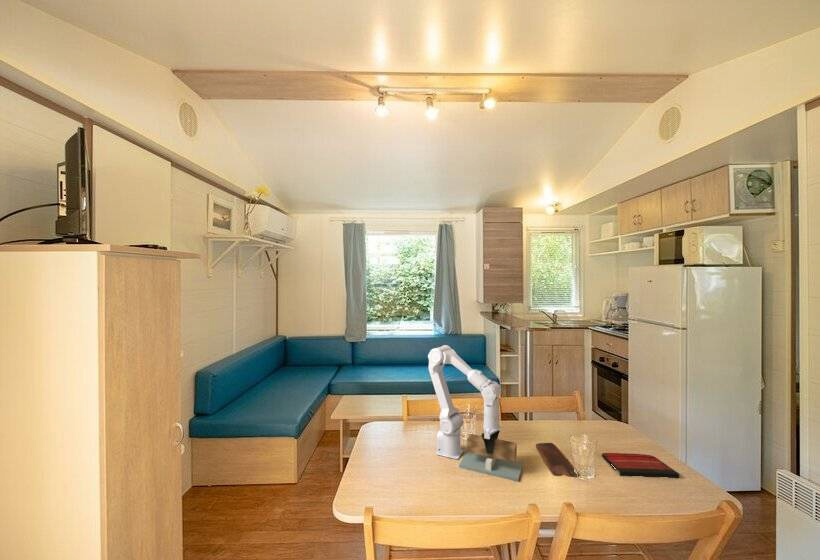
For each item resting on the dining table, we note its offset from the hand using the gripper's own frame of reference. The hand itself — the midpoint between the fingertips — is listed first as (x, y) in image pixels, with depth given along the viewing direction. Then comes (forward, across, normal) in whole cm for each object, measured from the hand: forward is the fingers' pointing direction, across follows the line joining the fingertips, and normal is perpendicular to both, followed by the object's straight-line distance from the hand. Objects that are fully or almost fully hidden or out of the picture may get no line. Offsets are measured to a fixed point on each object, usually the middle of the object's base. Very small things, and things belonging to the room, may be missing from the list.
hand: (491, 449), depth 137 cm
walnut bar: (+2, 0, 0) cm, 2 cm away
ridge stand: (+6, 0, 0) cm, 6 cm away
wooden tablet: (+7, +17, -22) cm, 29 cm away
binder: (+7, +25, -51) cm, 57 cm away
